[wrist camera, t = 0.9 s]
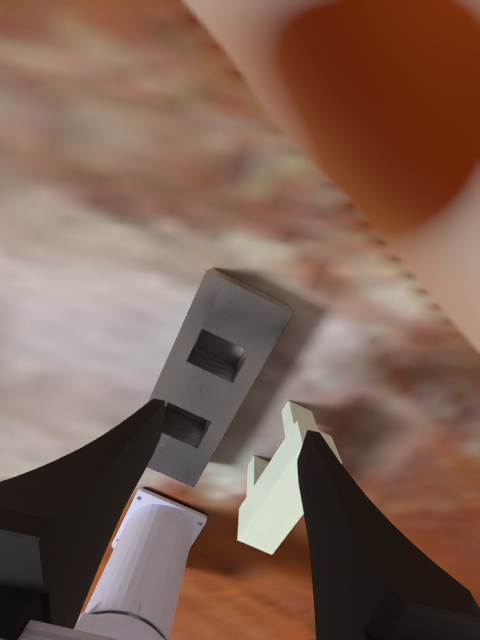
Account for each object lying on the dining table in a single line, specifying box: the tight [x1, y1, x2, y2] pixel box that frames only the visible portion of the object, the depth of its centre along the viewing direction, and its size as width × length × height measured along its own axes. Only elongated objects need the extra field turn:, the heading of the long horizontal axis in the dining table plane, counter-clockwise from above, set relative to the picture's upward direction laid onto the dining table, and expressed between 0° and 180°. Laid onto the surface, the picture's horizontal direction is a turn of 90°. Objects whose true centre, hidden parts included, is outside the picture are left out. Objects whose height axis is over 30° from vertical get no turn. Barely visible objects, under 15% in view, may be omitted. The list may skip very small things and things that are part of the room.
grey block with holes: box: [147, 268, 293, 487], centre depth 22 cm, size 18×7×3 cm, turn 154°
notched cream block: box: [237, 401, 342, 555], centre depth 22 cm, size 10×3×6 cm, turn 154°
